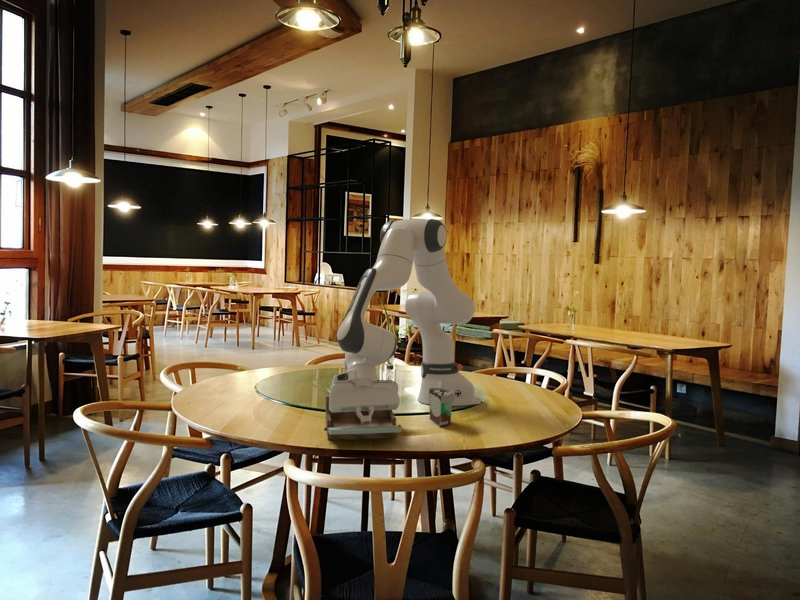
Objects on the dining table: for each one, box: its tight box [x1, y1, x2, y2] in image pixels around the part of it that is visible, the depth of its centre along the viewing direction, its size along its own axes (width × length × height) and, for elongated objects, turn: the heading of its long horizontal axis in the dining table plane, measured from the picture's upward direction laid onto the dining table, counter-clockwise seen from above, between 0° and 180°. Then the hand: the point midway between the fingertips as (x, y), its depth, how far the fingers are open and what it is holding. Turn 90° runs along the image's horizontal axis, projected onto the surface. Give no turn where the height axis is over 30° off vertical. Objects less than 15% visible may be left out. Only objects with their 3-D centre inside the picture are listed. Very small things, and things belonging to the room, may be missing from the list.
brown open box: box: [323, 393, 402, 440], centre depth 194 cm, size 22×14×10 cm, turn 99°
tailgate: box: [329, 425, 403, 435], centre depth 183 cm, size 20×2×9 cm
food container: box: [429, 388, 455, 428], centre depth 206 cm, size 12×6×10 cm, turn 17°
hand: (366, 422), depth 184 cm, fingers closed
